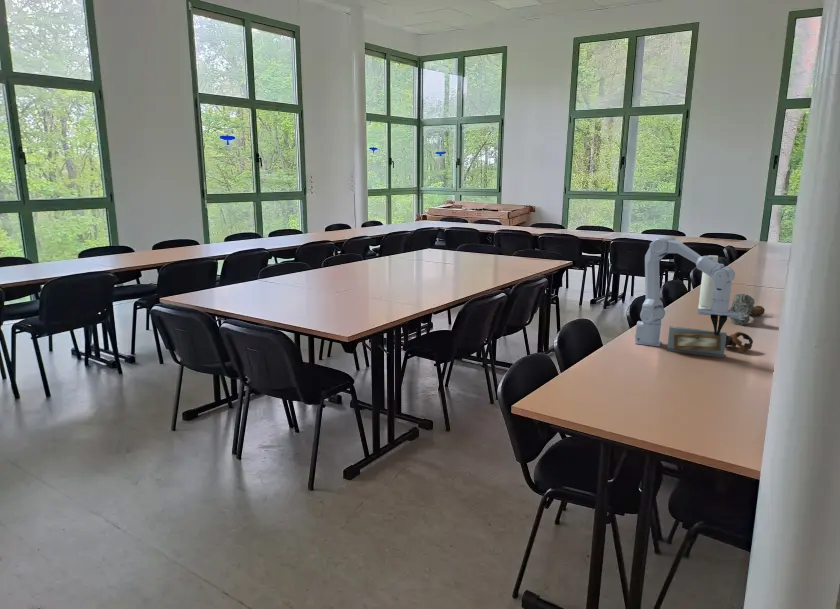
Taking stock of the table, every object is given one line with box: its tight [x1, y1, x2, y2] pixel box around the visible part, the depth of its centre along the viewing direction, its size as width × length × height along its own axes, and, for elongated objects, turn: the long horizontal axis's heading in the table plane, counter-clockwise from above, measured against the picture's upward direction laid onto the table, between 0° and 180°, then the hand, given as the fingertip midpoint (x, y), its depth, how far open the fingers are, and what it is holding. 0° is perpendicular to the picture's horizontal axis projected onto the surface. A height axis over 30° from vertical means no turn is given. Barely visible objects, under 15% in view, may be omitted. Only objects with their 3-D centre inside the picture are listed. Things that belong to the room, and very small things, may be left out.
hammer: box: [729, 293, 765, 326], centre depth 274 cm, size 15×10×30 cm
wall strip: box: [666, 326, 728, 358], centre depth 223 cm, size 20×5×10 cm, turn 64°
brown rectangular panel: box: [674, 333, 721, 351], centre depth 219 cm, size 16×3×6 cm, turn 64°
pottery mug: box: [725, 331, 754, 354], centre depth 227 cm, size 12×10×8 cm
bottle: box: [697, 254, 719, 309], centre depth 295 cm, size 8×8×28 cm
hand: (716, 334), depth 215 cm, fingers closed, pressing on brown rectangular panel
